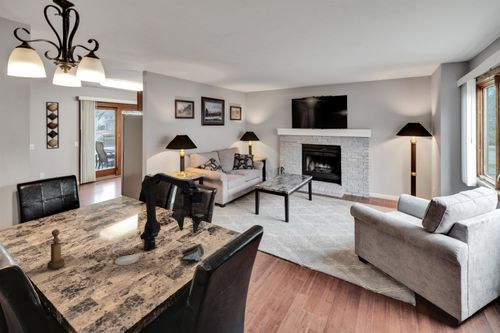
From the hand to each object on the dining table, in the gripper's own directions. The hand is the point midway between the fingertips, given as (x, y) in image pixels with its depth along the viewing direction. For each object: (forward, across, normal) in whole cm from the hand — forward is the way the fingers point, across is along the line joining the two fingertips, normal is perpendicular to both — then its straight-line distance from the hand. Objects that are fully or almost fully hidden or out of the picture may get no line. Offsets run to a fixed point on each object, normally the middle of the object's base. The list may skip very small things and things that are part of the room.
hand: (187, 232), depth 134 cm
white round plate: (+13, -23, -20) cm, 33 cm away
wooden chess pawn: (+14, -48, -40) cm, 64 cm away
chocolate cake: (+15, +1, -3) cm, 16 cm away
